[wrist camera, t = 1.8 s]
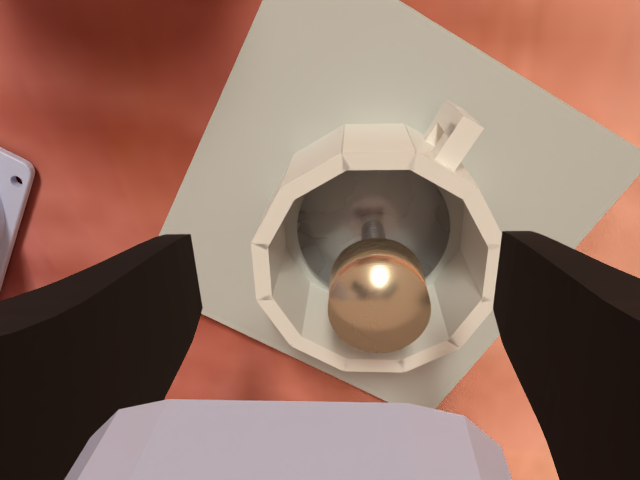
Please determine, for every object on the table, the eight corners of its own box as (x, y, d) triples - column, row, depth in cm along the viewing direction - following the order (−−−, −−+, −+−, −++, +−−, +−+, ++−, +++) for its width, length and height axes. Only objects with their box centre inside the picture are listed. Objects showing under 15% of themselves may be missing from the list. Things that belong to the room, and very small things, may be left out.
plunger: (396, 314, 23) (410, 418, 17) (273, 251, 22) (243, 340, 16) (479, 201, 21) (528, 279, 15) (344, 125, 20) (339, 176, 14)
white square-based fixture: (423, 408, 27) (437, 490, 22) (144, 275, 24) (95, 336, 20) (643, 152, 20) (725, 194, 16) (294, -63, 18) (274, -87, 13)
